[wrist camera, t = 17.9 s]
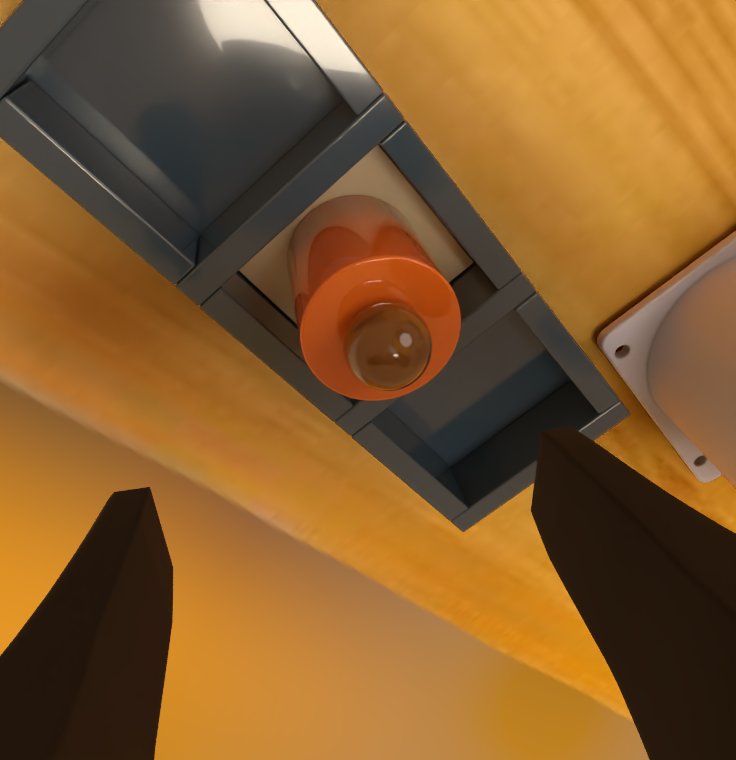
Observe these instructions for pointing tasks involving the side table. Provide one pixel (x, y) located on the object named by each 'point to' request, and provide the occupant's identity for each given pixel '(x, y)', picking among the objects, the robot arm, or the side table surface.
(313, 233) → the orange cylinder with knob
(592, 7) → the side table surface
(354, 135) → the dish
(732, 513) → the side table surface
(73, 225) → the side table surface
